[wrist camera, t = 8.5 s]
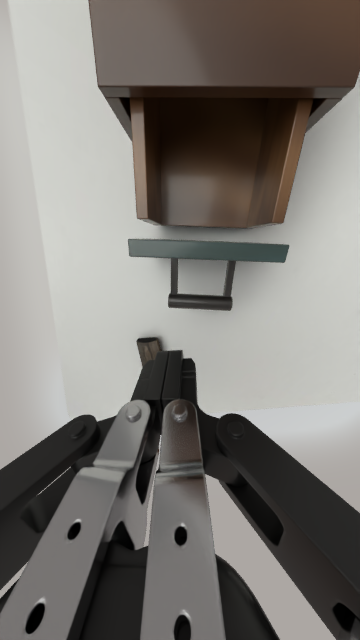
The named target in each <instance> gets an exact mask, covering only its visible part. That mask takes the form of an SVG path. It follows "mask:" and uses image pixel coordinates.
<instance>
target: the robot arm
mask: <svg viewBox="0 0 360 640" xmlns="http://www.w3.org/2000/svg"><path fill="white" fill-rule="evenodd" d="M160 435H161V436H162V437H161V449H160V462H159V469H158V470H157V471H156V475H155V480H154V490H153V502H152V513H151V524H150V535H149V546H146V547H143V546H144V541H145V534H146V526H147V508H148V502H149V498H150V493H151V488H152V484H153V479H154V474H155V470H156V465H157V460H158V455H159V441H160ZM70 466H71V468H69V467H70ZM68 468H69V469H68ZM67 469H68V470H67ZM66 470H67V471H66ZM65 471H66V472H65ZM63 472H65V473H64V474H62V473H63ZM61 474H62V475H61ZM205 474H207V475H209V476H212V477H214V478H216V479H218V480H219V482H220V484H221V485H222V487H223V488H224V489H225V491H226V492H227V493H228V495H229V496H230V497H231V499H232V500H233V501H234V503H235V504H236V505H237V507H238V508H239V509H240V511H241V512H242V514H243V515H244V516H245V518H246V519H247V520H248V522H249V523H250V524H251V526H252V527H253V528H254V530H255V531H256V532H257V534H258V535H259V536H260V538H261V539H262V540H263V542H264V543H265V544H266V546H267V547H268V548H269V550H270V551H271V553H272V554H273V555H274V557H275V558H276V559H277V560H278V562H279V563H280V565H281V566H282V567H283V569H284V570H285V571H286V573H287V574H288V575H289V577H290V578H291V579H292V581H293V582H294V583H295V585H296V586H297V587H298V589H299V590H300V591H301V593H302V594H303V596H304V597H305V598H306V600H307V601H308V602H309V604H310V605H311V606H312V608H313V609H314V610H315V612H316V613H317V614H318V616H319V617H320V618H321V620H322V621H323V622H324V624H325V625H326V626H327V628H328V629H329V630H330V632H331V633H332V634H333V636H334V637H335V638H336V640H360V513H359V512H358V511H356V510H355V509H354V508H353V507H352V506H350V505H349V504H348V503H347V502H346V501H344V500H343V499H342V498H341V497H340V496H339V495H337V494H336V493H335V492H334V491H332V490H331V489H330V488H329V487H328V486H327V485H325V484H324V483H323V482H322V481H320V480H319V479H318V478H317V477H316V476H314V475H313V474H312V473H311V472H310V471H308V470H307V469H306V468H305V467H304V466H303V465H301V464H300V463H299V462H298V461H297V460H295V459H294V458H293V457H292V456H291V455H289V454H288V453H287V452H286V451H285V450H283V449H282V448H281V447H280V446H279V445H278V444H276V443H275V442H274V441H273V440H271V439H270V438H269V437H268V436H267V435H266V434H264V433H263V432H262V431H261V430H260V429H258V428H257V427H256V426H255V425H254V424H252V423H251V422H250V421H249V420H247V419H246V418H245V417H243V416H241V415H238V414H226V415H224V416H222V417H221V418H220V419H219V418H216V417H212V416H209V415H207V414H205V413H204V412H203V411H202V410H201V409H200V408H199V406H198V404H197V383H196V368H195V363H194V361H193V360H192V358H187V359H184V358H183V350H175V351H158V352H157V354H156V358H155V360H149V361H148V362H147V363H146V364H145V365H144V366H143V368H142V371H141V374H140V376H139V380H138V382H137V385H136V387H135V390H134V393H133V395H132V398H131V401H130V402H128V403H127V404H125V405H124V406H123V407H122V408H121V409H120V410H119V412H118V414H117V415H116V416H114V417H111V418H108V419H105V420H102V421H98V422H97V421H96V419H95V417H94V416H92V415H82V416H79V417H76V418H74V419H73V420H71V421H70V422H68V423H67V424H66V425H64V426H63V427H62V428H60V429H58V430H57V431H55V432H54V433H53V434H51V435H50V436H48V437H47V438H45V439H44V440H43V441H41V442H40V443H38V444H37V445H35V446H34V447H32V448H31V449H30V450H28V451H27V452H25V453H24V454H22V455H21V456H20V457H18V458H17V459H15V460H14V461H12V462H11V463H9V464H8V465H7V466H5V467H4V468H2V469H1V470H0V590H1V589H2V588H3V587H4V586H5V585H6V584H7V583H8V582H9V580H11V578H12V577H13V576H14V575H15V574H16V573H17V572H18V571H19V570H20V569H21V568H22V567H23V566H24V565H25V564H26V563H27V562H28V561H29V562H28V563H27V566H26V567H25V569H24V571H23V573H22V575H21V576H20V578H19V579H18V580H17V581H16V582H15V583H14V584H13V585H12V586H11V588H10V589H9V590H8V591H7V592H6V593H5V594H4V595H3V597H1V598H0V640H280V639H279V637H278V635H277V634H276V632H275V630H274V629H273V627H272V625H271V623H270V622H269V620H268V618H267V616H266V615H265V613H264V611H263V609H262V608H261V606H260V604H259V602H258V601H257V599H256V597H255V596H254V594H253V592H252V591H251V590H250V588H249V587H248V586H247V584H246V583H245V581H244V580H243V579H242V577H241V576H240V575H239V574H238V573H237V572H236V570H235V569H234V568H233V567H232V566H230V565H229V564H228V563H227V562H226V561H225V560H223V559H222V558H221V557H219V556H217V555H216V554H215V550H214V541H213V533H212V526H211V518H210V509H209V502H208V493H207V485H206V478H205ZM60 475H61V476H60ZM59 476H60V477H59ZM57 477H59V478H58V479H57V480H56V481H54V480H55V479H56V478H57ZM53 481H54V482H53ZM52 482H53V483H52ZM51 483H52V484H51ZM49 484H51V485H50V486H49V487H47V486H48V485H49ZM46 487H47V488H46ZM45 488H46V489H45ZM44 489H45V490H44ZM42 490H44V491H43V492H42V493H40V492H41V491H42ZM39 493H40V494H39ZM38 494H39V495H38Z"/></svg>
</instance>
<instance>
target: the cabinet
mask: <svg viewBox="0 0 360 640" xmlns="http://www.w3.org/2000/svg"><path fill="white" fill-rule="evenodd" d="M89 9H90V19H91V28H92V37H93V46H94V55H95V64H96V73H97V82H98V87H99V89H100V90H101V92H102V94H103V95H104V97H105V99H106V100H107V102H108V103H109V105H110V107H111V108H112V110H113V112H114V113H115V115H116V116H117V118H118V120H119V121H120V123H121V125H122V126H123V128H124V130H125V131H126V133H127V134H128V136H129V138H130V139H131V141H132V127H131V111H130V97H205V98H314V99H313V103H312V107H311V111H310V115H309V119H308V123H307V127H306V132H307V131H308V130H309V129H310V128H311V127H312V126H313V125H314V124H315V123H317V122H318V121H319V120H320V119H321V118H322V117H323V116H324V115H325V114H326V113H327V112H328V111H329V110H331V109H332V108H333V107H334V106H335V105H336V104H337V103H338V102H339V101H340V100H341V99H342V98H343V97H344V96H345V95H346V94H348V93H349V92H350V91H351V90H352V89H353V88H354V87H355V84H356V81H357V78H358V75H359V71H360V0H89ZM306 132H305V133H306Z"/></svg>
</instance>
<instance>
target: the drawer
mask: <svg viewBox="0 0 360 640" xmlns="http://www.w3.org/2000/svg"><path fill="white" fill-rule="evenodd" d="M313 99H314V98H205V97H130V111H131V127H132V144H133V160H134V177H135V194H136V210H137V219H140V220H143V221H145V222H148V223H151V224H153V225H161V226H191V227H221V228H251V229H252V228H258V227H264V226H269V225H275V224H281V223H283V222H284V218H285V214H286V210H287V206H288V201H289V197H290V193H291V189H292V185H293V181H294V177H295V173H296V169H297V164H298V160H299V156H300V152H301V148H302V144H303V140H304V136H305V132H306V127H307V123H308V119H309V115H310V111H311V107H312V103H313ZM128 245H129V256H130V257H154V258H171V293H170V294H169V297H168V306H169V308H185V309H204V310H224V311H230V310H231V308H232V302H233V301H232V297H231V290H232V283H233V277H234V271H235V264H236V261H253V262H278V263H284V262H285V260H286V256H287V253H288V249H289V245H284V244H269V243H251V242H224V241H196V240H168V239H128ZM178 258H179V259H204V260H228V264H227V271H226V278H225V285H224V293H223V296H215V295H194V294H177V293H178Z"/></svg>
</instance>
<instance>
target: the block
mask: <svg viewBox="0 0 360 640" xmlns="http://www.w3.org/2000/svg"><path fill="white" fill-rule="evenodd" d="M137 346H138V350H139V354H140V358H141V362H142V366H144V365H145V364H146V363H147V362H148V361H149V360H155V358H156V354H157V352H158V351H162V350H161V348H160V344H159V341H158V339H157V338H139V339H138V340H137Z"/></svg>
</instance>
